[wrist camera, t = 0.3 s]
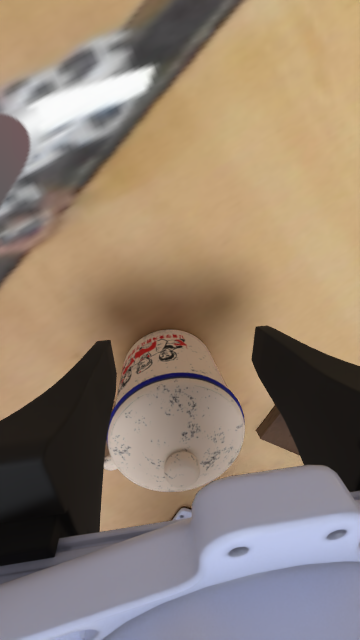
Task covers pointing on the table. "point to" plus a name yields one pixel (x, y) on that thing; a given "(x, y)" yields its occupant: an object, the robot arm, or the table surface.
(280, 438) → the cup stand
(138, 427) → the speckled cream mug
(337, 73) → the table surface
